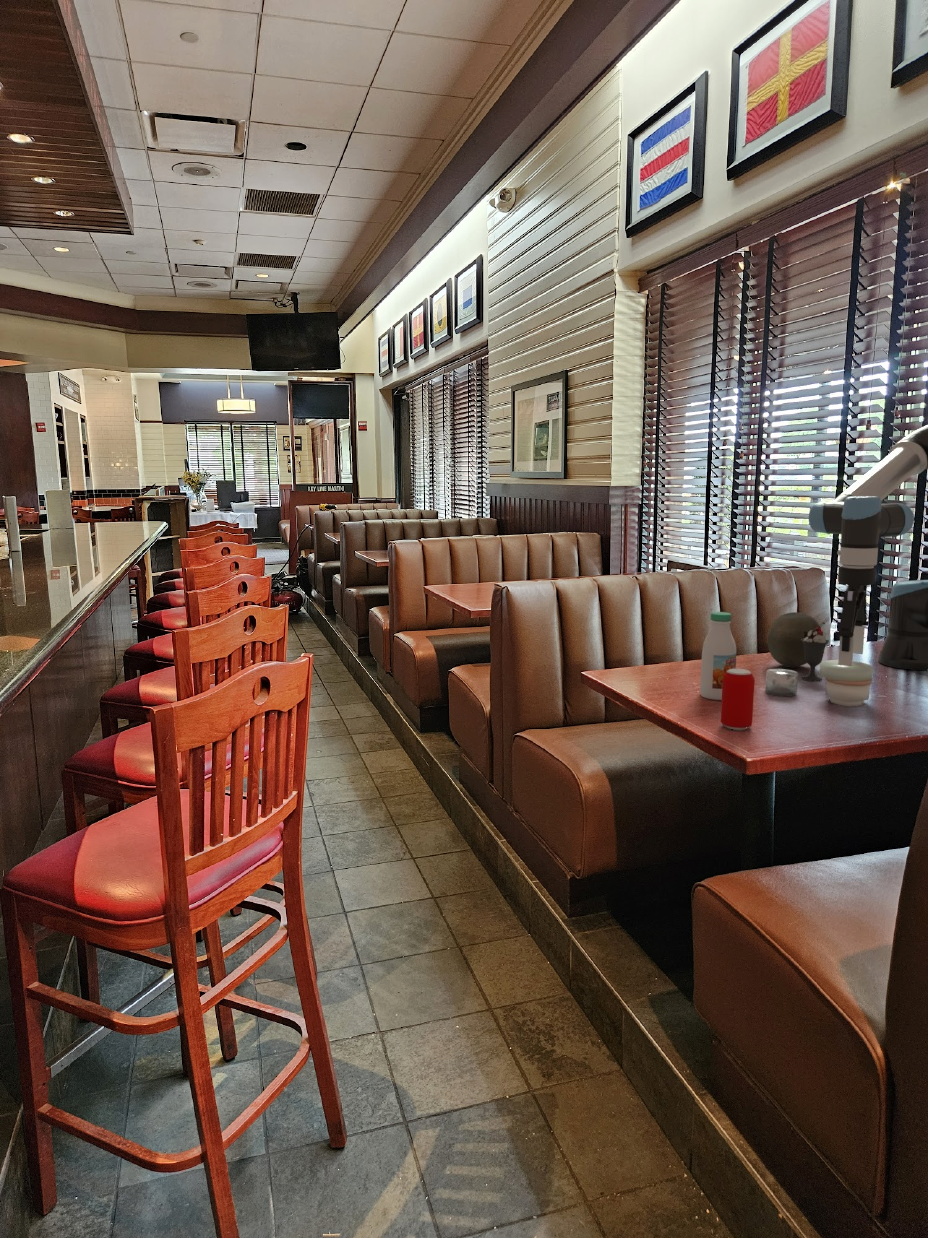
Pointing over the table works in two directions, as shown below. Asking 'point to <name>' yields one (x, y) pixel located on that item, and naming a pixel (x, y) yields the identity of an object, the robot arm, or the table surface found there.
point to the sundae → (813, 651)
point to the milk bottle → (717, 656)
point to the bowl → (848, 692)
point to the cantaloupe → (790, 638)
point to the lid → (846, 671)
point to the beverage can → (737, 699)
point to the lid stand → (781, 682)
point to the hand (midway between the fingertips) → (850, 659)
